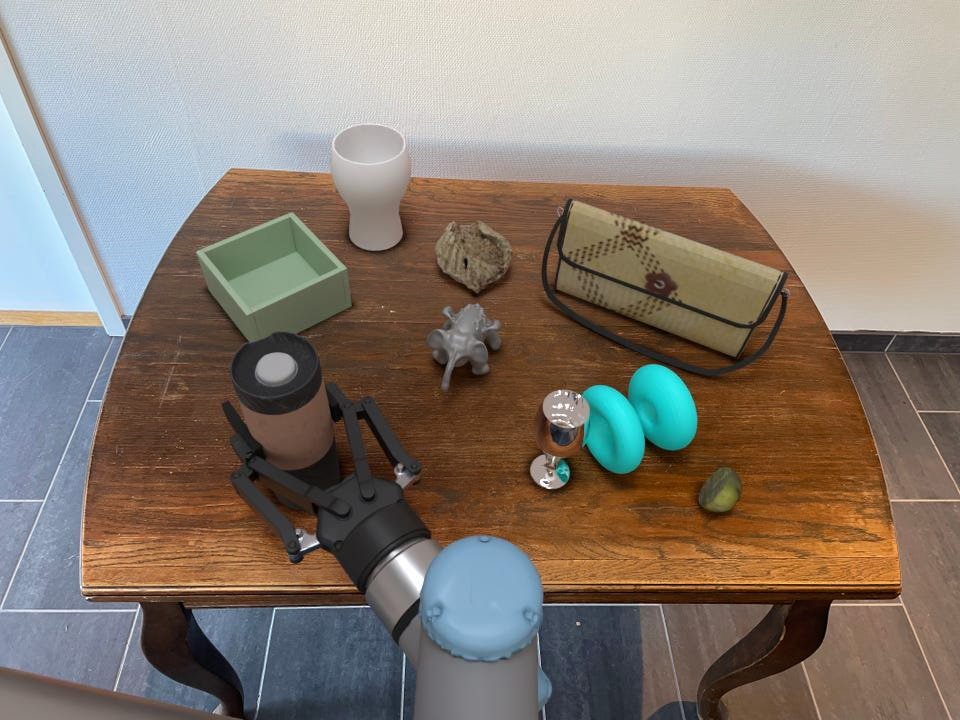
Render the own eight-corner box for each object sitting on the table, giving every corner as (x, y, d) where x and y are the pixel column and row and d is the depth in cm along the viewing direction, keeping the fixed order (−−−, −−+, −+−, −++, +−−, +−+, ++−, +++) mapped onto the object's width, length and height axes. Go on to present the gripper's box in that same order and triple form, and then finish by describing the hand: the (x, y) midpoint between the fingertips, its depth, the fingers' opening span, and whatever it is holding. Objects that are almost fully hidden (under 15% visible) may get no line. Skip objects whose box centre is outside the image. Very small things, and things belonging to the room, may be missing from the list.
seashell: (463, 314, 95) (528, 281, 94) (444, 288, 89) (514, 253, 88) (439, 255, 101) (500, 224, 100) (420, 227, 95) (485, 193, 94)
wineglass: (560, 442, 79) (577, 378, 70) (585, 483, 76) (606, 421, 67) (515, 459, 77) (526, 395, 68) (539, 502, 74) (554, 440, 65)
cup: (336, 257, 97) (323, 166, 85) (342, 209, 104) (331, 119, 92) (412, 258, 98) (409, 168, 86) (413, 211, 104) (411, 121, 93)
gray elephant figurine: (499, 333, 90) (504, 291, 84) (503, 408, 82) (509, 368, 76) (427, 331, 89) (427, 289, 83) (425, 407, 81) (425, 366, 75)
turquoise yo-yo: (687, 460, 79) (714, 409, 71) (614, 494, 75) (635, 444, 68) (636, 396, 84) (657, 343, 76) (566, 425, 81) (581, 372, 73)
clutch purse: (527, 309, 93) (541, 220, 81) (547, 277, 97) (563, 189, 85) (746, 395, 85) (796, 311, 74) (758, 357, 89) (806, 272, 78)
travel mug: (327, 520, 71) (298, 408, 56) (258, 503, 72) (211, 387, 57) (353, 459, 76) (333, 340, 61) (288, 443, 77) (252, 322, 62)
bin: (257, 353, 85) (246, 315, 80) (208, 290, 92) (195, 251, 86) (351, 306, 91) (347, 268, 86) (299, 250, 97) (292, 211, 92)
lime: (700, 521, 74) (715, 499, 70) (687, 481, 77) (700, 458, 73) (739, 518, 74) (756, 496, 70) (725, 479, 77) (740, 455, 74)
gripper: (297, 658, 56) (177, 464, 67) (490, 518, 65) (357, 366, 75) (282, 627, 50) (153, 419, 61) (495, 478, 59) (350, 319, 70)
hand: (266, 390), depth 68 cm, fingers closed on travel mug, 7 cm apart
